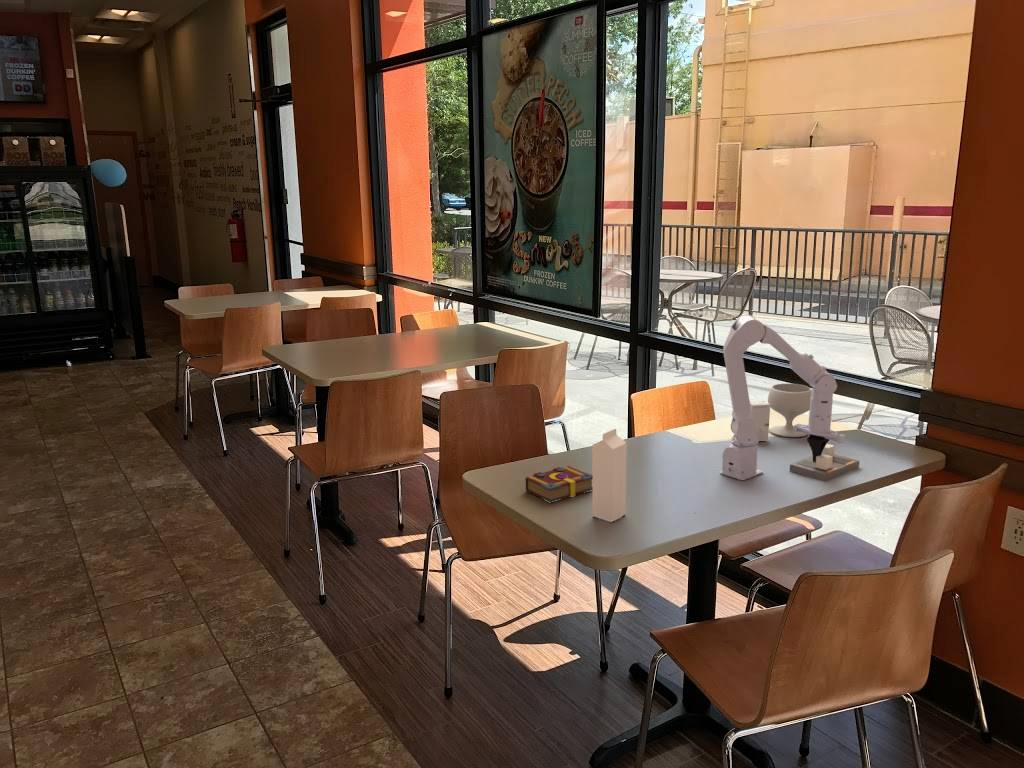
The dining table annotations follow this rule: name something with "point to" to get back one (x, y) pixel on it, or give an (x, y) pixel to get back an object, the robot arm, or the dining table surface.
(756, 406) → the skincare box
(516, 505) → the dining table surface
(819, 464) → the cream white cube
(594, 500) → the milk
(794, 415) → the chalice
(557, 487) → the decorative book
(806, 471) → the switch board
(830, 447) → the cream cube
